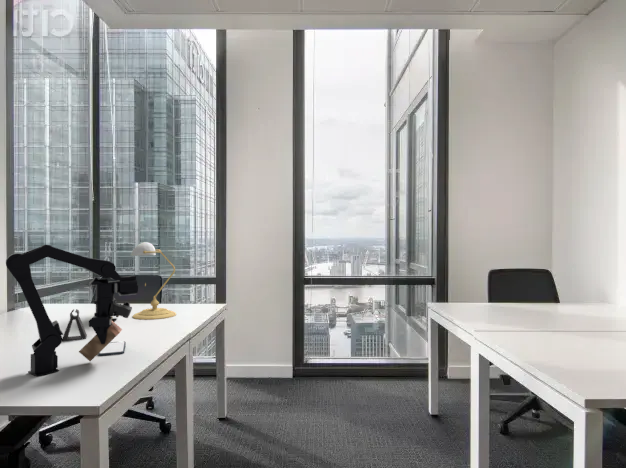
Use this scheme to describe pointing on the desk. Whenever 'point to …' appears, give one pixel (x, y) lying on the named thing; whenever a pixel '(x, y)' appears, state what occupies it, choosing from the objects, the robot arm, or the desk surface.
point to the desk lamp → (153, 312)
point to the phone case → (113, 349)
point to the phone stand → (80, 327)
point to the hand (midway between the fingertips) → (104, 342)
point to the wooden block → (95, 345)
